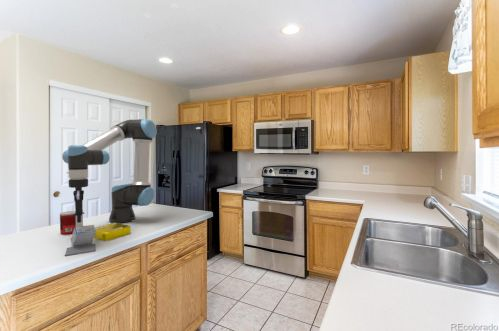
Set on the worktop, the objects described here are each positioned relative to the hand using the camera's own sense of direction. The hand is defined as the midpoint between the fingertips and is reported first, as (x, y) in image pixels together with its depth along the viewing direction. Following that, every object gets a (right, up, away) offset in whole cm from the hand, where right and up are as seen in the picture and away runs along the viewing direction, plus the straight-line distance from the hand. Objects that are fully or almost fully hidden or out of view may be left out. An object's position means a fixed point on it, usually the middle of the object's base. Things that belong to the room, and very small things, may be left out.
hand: (79, 228), depth 118 cm
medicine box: (0, -7, +1) cm, 7 cm away
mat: (+4, -8, -5) cm, 11 cm away
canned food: (-18, -7, +19) cm, 28 cm away
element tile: (+6, -8, +16) cm, 19 cm away
